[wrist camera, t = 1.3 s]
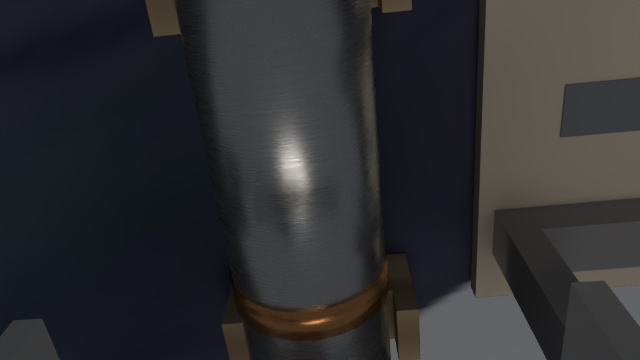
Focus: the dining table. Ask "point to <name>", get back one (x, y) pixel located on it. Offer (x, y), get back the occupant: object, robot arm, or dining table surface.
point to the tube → (294, 170)
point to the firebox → (556, 154)
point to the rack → (400, 284)
